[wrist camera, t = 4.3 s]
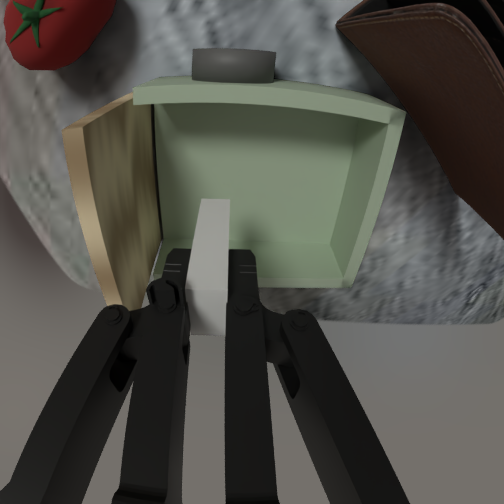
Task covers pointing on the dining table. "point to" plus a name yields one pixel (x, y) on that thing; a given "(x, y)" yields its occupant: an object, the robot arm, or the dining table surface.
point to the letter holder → (445, 84)
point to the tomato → (53, 30)
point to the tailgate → (117, 195)
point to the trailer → (272, 165)
